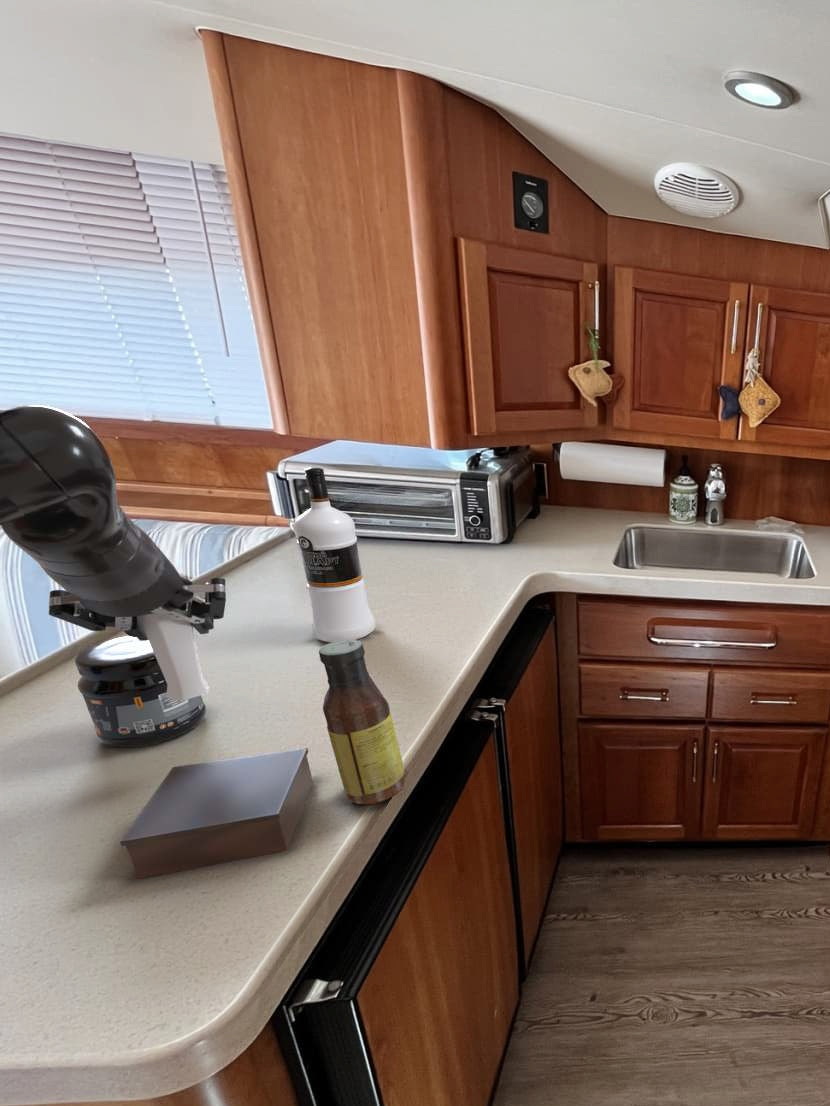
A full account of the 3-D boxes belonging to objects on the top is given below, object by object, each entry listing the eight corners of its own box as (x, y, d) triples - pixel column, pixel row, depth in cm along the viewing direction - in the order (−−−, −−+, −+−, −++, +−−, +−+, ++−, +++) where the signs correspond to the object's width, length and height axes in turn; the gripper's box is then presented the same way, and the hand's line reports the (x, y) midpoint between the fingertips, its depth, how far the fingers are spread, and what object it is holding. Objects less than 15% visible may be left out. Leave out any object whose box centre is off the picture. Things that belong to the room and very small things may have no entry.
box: (134, 881, 63) (119, 842, 61) (185, 802, 73) (173, 766, 71) (289, 851, 68) (278, 813, 66) (315, 781, 78) (307, 747, 76)
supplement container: (123, 714, 88) (94, 635, 83) (220, 702, 92) (198, 627, 87) (81, 757, 79) (47, 672, 74) (191, 743, 83) (165, 661, 79)
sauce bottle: (414, 774, 81) (390, 633, 74) (394, 806, 75) (365, 658, 68) (357, 776, 80) (327, 633, 72) (332, 809, 74) (297, 658, 67)
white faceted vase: (155, 704, 73) (117, 583, 68) (171, 686, 77) (136, 570, 71) (206, 699, 75) (173, 580, 70) (220, 682, 79) (189, 568, 73)
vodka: (387, 631, 117) (360, 468, 106) (334, 649, 109) (298, 475, 98) (356, 619, 121) (326, 460, 110) (302, 635, 113) (264, 467, 102)
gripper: (207, 526, 66) (252, 594, 79) (2, 535, 58) (90, 608, 72) (209, 591, 63) (255, 649, 77) (-5, 608, 56) (88, 670, 70)
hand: (175, 629), depth 75 cm, fingers closed on white faceted vase, 4 cm apart
